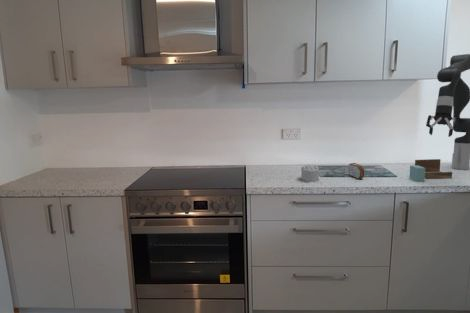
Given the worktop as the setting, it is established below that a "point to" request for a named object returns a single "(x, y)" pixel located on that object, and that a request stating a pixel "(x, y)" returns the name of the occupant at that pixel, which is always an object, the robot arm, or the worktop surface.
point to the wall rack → (433, 169)
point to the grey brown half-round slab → (356, 170)
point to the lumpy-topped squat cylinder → (310, 173)
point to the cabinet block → (417, 173)
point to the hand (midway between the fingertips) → (440, 135)
